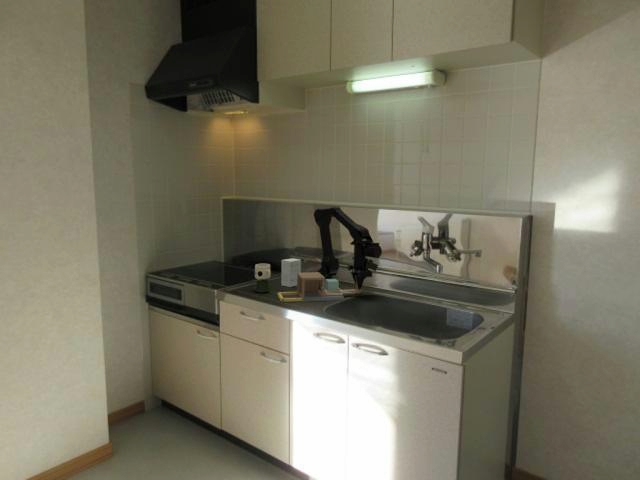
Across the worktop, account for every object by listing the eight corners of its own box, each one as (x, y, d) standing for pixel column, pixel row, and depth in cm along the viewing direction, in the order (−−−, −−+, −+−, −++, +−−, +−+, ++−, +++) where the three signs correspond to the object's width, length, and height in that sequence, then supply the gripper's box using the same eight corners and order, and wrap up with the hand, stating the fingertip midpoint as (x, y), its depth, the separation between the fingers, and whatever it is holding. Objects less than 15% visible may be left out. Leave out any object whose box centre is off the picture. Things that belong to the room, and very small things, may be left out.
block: (324, 289, 213) (325, 279, 212) (335, 289, 214) (335, 278, 214) (327, 292, 208) (328, 281, 208) (338, 292, 209) (338, 281, 209)
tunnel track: (277, 295, 212) (277, 273, 210) (336, 293, 218) (337, 271, 217) (281, 302, 200) (282, 278, 199) (343, 299, 207) (344, 276, 206)
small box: (292, 282, 239) (292, 257, 238) (301, 284, 235) (301, 259, 234) (280, 285, 233) (281, 259, 232) (289, 287, 229) (290, 261, 228)
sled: (320, 291, 214) (321, 278, 214) (357, 290, 219) (358, 277, 218) (325, 295, 207) (325, 281, 206) (363, 294, 211) (363, 280, 210)
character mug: (249, 291, 219) (249, 264, 218) (260, 288, 224) (261, 262, 223) (263, 295, 212) (264, 267, 210) (275, 292, 217) (276, 265, 215)
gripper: (383, 258, 205) (382, 292, 207) (369, 252, 223) (368, 283, 225) (360, 258, 203) (358, 293, 205) (347, 252, 221) (346, 284, 223)
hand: (358, 288), depth 214 cm, fingers closed on sled, 2 cm apart
